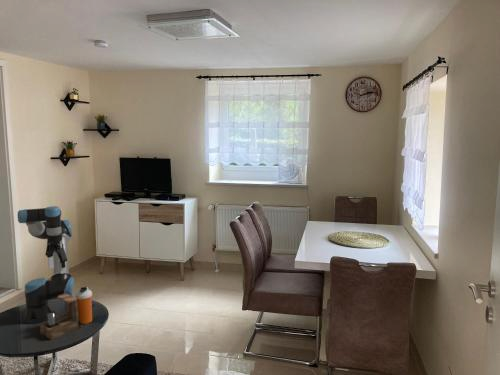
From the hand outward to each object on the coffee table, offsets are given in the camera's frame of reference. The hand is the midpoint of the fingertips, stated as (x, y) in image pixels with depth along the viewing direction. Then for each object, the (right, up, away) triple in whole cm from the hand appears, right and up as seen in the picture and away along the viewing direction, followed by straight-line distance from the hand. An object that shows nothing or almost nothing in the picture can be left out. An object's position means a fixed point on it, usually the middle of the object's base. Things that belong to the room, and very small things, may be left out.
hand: (57, 270), depth 232 cm
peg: (0, -34, -5) cm, 34 cm away
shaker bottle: (+13, -32, +9) cm, 35 cm away
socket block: (+3, -33, -2) cm, 33 cm away
